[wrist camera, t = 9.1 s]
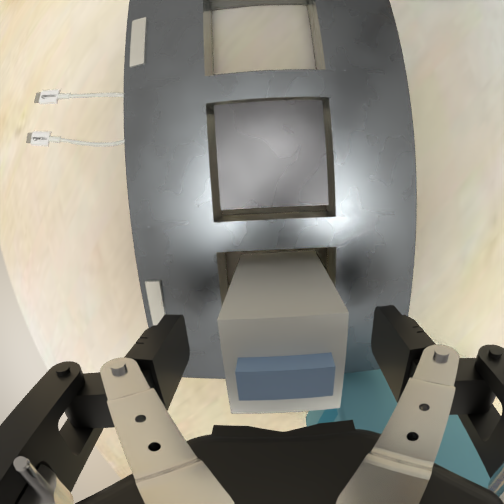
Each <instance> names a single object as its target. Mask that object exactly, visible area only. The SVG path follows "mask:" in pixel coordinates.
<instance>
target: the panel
mask: <svg viewBox="0 0 504 504" xmlns="http://www.w3.org/2000/svg"><path fill="white" fill-rule="evenodd" d="M286 4H298V5H307V8H308V14H309V20H310V27H311V34H312V40H313V48H314V55H315V63H316V70H267V71H251V72H239V73H229V74H219V75H214V73H213V48H212V16H211V10H217V9H225V8H234V7H244V6H258V5H286ZM124 141H125V161H126V176H127V188H128V199H129V209H130V218H131V227H132V234H133V242H134V249H135V256H136V263H137V269H138V275H139V281H140V286H141V292H142V297H143V303H144V308H145V313H146V318H147V322H148V327H149V328H150V327H152V326H153V325H157V324H158V323H159V322H160V320H161V319H162V318H163V316H164V315H165V314H174V315H183V316H184V319H185V324H186V330H187V336H188V342H189V347H190V357H189V361H188V364H187V366H186V368H185V371H184V373H183V375H182V377H190V378H217V379H226V378H225V371H224V365H223V358H222V351H221V344H220V337H219V330H218V322H217V319H218V316H219V313H220V311H221V308H222V305H223V303H224V300H225V297H226V294H227V292H228V279H227V268H226V257H225V252H233V251H255V250H277V249H299V248H321V247H327V273H328V275H329V277H330V279H331V280H332V282H333V284H334V286H335V288H336V290H337V291H338V293H339V295H340V297H341V299H342V301H343V302H344V304H345V306H346V308H347V310H348V312H349V319H348V334H347V348H346V359H345V370H344V373H353V372H362V371H369V370H377V369H380V367H379V365H378V363H377V361H376V359H375V357H374V355H373V353H372V349H371V336H372V328H373V319H374V311H375V308H376V307H377V306H387V305H394V306H395V307H396V308H397V310H398V311H399V312H400V313H401V314H402V315H406V316H408V312H409V305H410V297H411V288H412V279H413V268H414V255H415V239H416V159H415V143H414V131H413V120H412V111H411V103H410V95H409V88H408V82H407V76H406V70H405V64H404V59H403V54H402V49H401V45H400V40H399V36H398V31H397V27H396V23H395V19H394V16H393V12H392V8H391V5H390V1H389V0H130V2H129V10H128V20H127V31H126V45H125V64H124ZM316 205H326V211H306V212H282V213H261V214H243V215H226V216H222V210H232V209H249V208H267V207H289V206H316Z"/></svg>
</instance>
